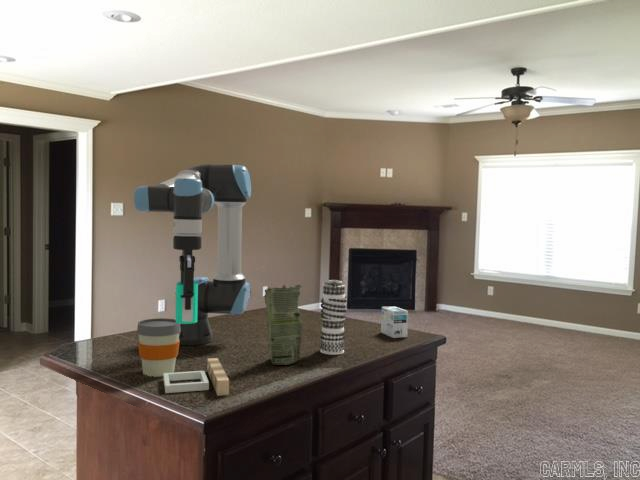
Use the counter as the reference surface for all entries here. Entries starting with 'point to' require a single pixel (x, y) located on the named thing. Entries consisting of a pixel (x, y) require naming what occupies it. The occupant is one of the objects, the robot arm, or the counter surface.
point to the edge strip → (218, 377)
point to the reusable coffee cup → (158, 345)
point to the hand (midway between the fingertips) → (186, 318)
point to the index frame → (185, 386)
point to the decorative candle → (333, 317)
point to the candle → (179, 304)
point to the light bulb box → (394, 322)
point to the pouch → (283, 324)
